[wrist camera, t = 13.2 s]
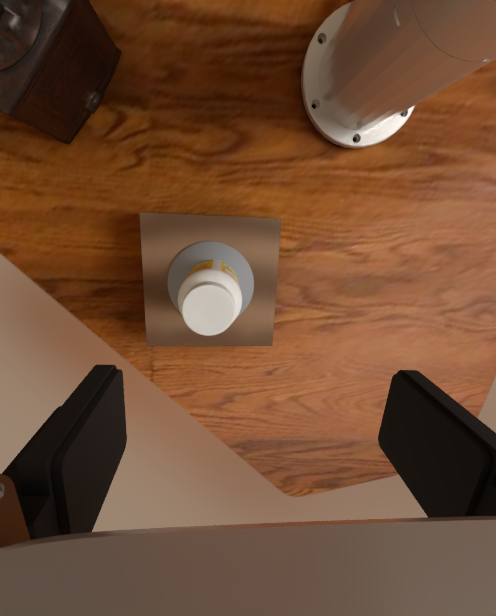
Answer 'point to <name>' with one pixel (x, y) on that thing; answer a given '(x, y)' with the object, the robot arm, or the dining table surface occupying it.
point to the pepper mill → (53, 63)
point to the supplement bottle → (210, 298)
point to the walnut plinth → (200, 247)
